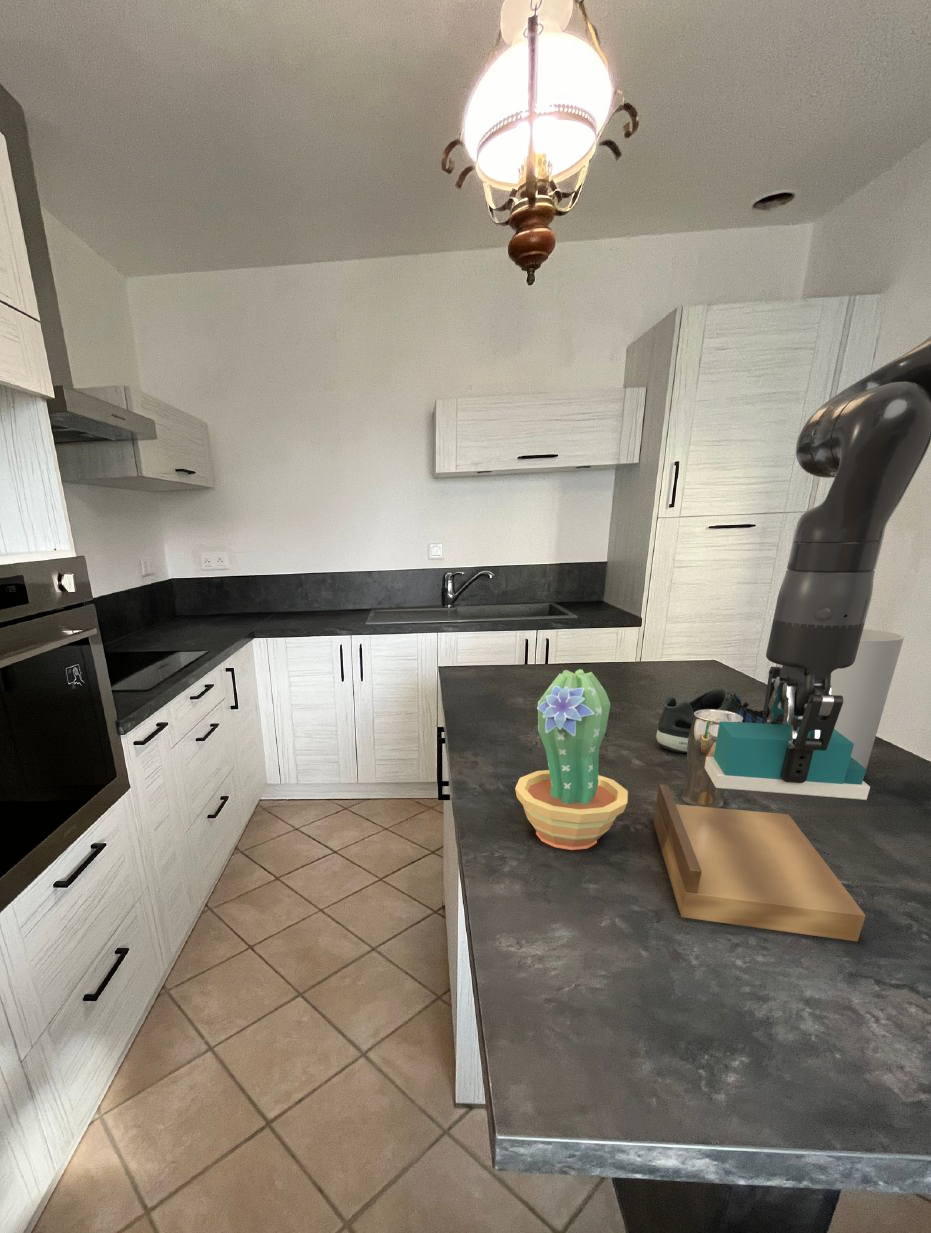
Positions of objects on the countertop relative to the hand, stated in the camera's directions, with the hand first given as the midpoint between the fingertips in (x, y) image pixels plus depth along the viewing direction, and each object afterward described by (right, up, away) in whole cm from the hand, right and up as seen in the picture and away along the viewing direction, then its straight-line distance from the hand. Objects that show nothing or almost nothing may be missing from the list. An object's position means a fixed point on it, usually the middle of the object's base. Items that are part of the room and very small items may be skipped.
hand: (782, 769), depth 66 cm
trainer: (0, -1, +1) cm, 2 cm away
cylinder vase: (+33, -2, +38) cm, 51 cm away
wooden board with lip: (+2, -14, +11) cm, 18 cm away
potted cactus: (-17, -11, +21) cm, 29 cm away
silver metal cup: (+8, -7, +30) cm, 32 cm away
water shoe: (+27, +3, +54) cm, 60 cm away
